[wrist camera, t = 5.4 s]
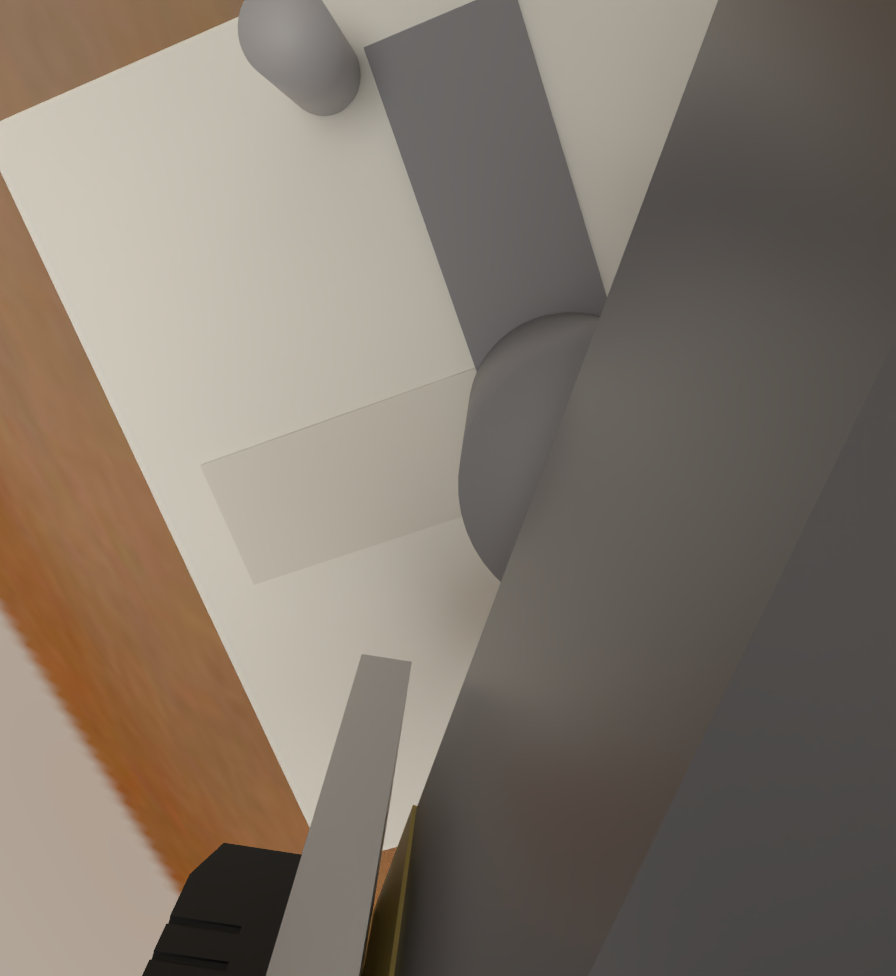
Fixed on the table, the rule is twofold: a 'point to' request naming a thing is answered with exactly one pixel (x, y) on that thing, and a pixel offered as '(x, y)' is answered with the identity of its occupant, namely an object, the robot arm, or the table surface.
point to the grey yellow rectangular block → (700, 570)
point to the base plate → (352, 310)
